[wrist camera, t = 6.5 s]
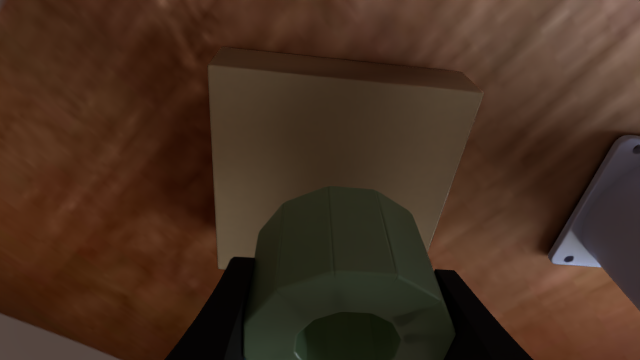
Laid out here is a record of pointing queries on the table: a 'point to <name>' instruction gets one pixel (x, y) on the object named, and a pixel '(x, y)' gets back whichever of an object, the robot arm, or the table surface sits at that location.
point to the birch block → (330, 136)
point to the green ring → (344, 283)
